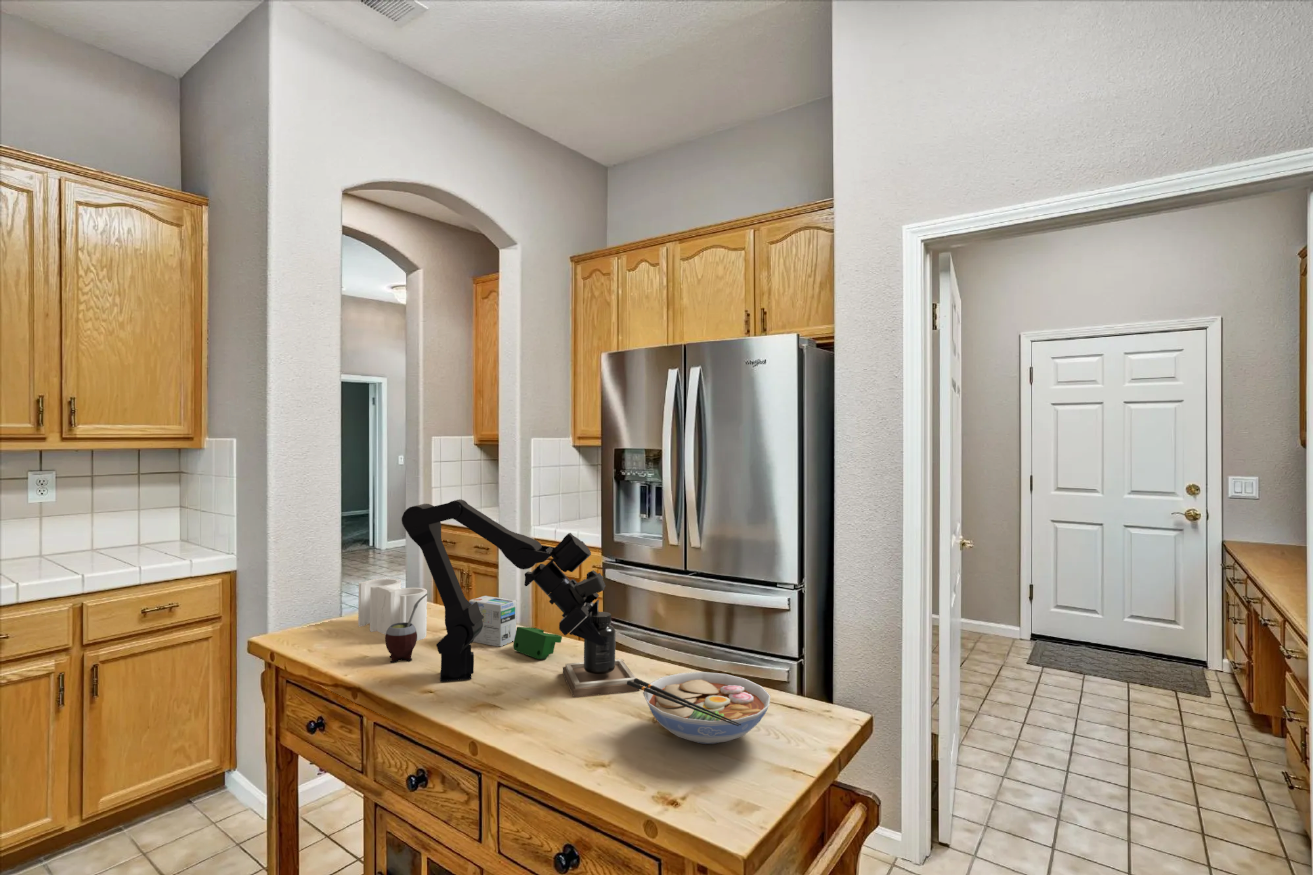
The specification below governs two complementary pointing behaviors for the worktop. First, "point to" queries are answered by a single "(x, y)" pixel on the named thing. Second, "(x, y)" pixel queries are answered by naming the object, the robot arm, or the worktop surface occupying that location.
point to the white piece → (391, 605)
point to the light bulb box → (496, 620)
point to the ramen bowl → (705, 705)
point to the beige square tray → (598, 680)
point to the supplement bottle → (601, 656)
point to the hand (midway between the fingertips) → (606, 639)
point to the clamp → (535, 642)
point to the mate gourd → (402, 639)
